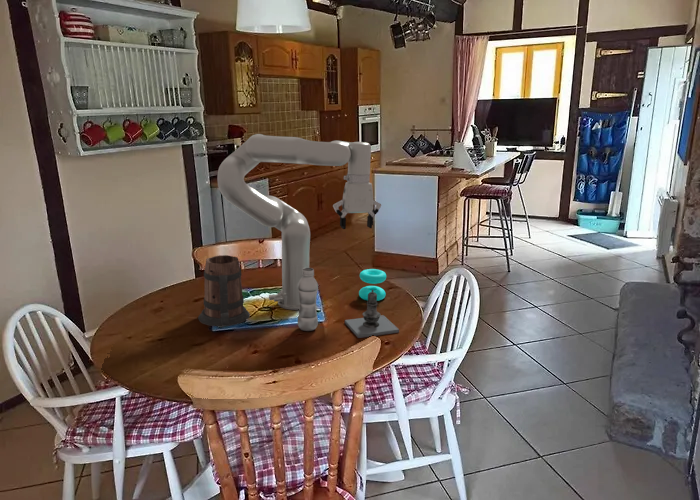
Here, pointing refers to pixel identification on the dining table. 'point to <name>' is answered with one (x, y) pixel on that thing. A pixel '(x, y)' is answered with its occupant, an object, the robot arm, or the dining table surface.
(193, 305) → the dining table surface
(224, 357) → the dining table surface
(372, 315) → the stone chess piece
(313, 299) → the plastic bottle
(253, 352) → the dining table surface
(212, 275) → the tankard
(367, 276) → the donuts
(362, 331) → the mat
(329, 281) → the dining table surface
